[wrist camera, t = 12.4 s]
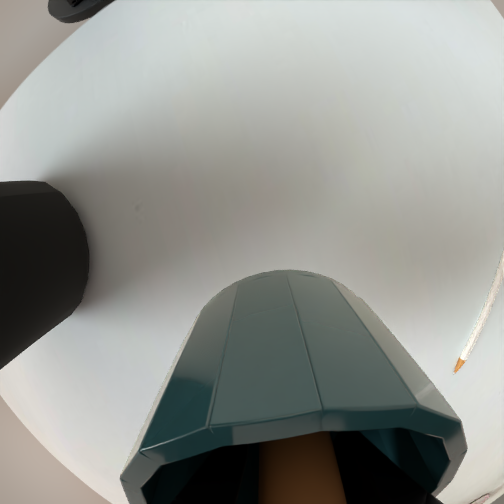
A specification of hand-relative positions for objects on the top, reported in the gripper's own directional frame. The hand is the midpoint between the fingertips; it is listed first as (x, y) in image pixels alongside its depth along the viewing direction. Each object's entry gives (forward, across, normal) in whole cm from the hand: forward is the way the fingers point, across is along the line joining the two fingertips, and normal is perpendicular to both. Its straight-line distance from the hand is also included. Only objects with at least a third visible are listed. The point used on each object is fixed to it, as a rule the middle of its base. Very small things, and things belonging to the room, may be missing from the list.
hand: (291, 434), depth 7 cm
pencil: (+11, -18, -4) cm, 22 cm away
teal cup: (+4, 0, 0) cm, 4 cm away
